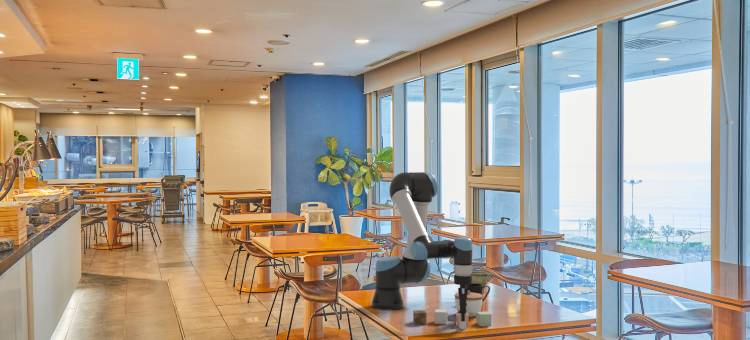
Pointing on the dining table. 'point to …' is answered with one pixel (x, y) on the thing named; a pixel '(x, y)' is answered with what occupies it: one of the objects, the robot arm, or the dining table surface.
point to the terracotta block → (459, 319)
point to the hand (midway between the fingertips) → (462, 325)
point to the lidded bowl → (470, 303)
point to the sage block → (483, 318)
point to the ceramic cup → (480, 277)
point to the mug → (477, 289)
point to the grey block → (441, 316)
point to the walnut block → (419, 317)
